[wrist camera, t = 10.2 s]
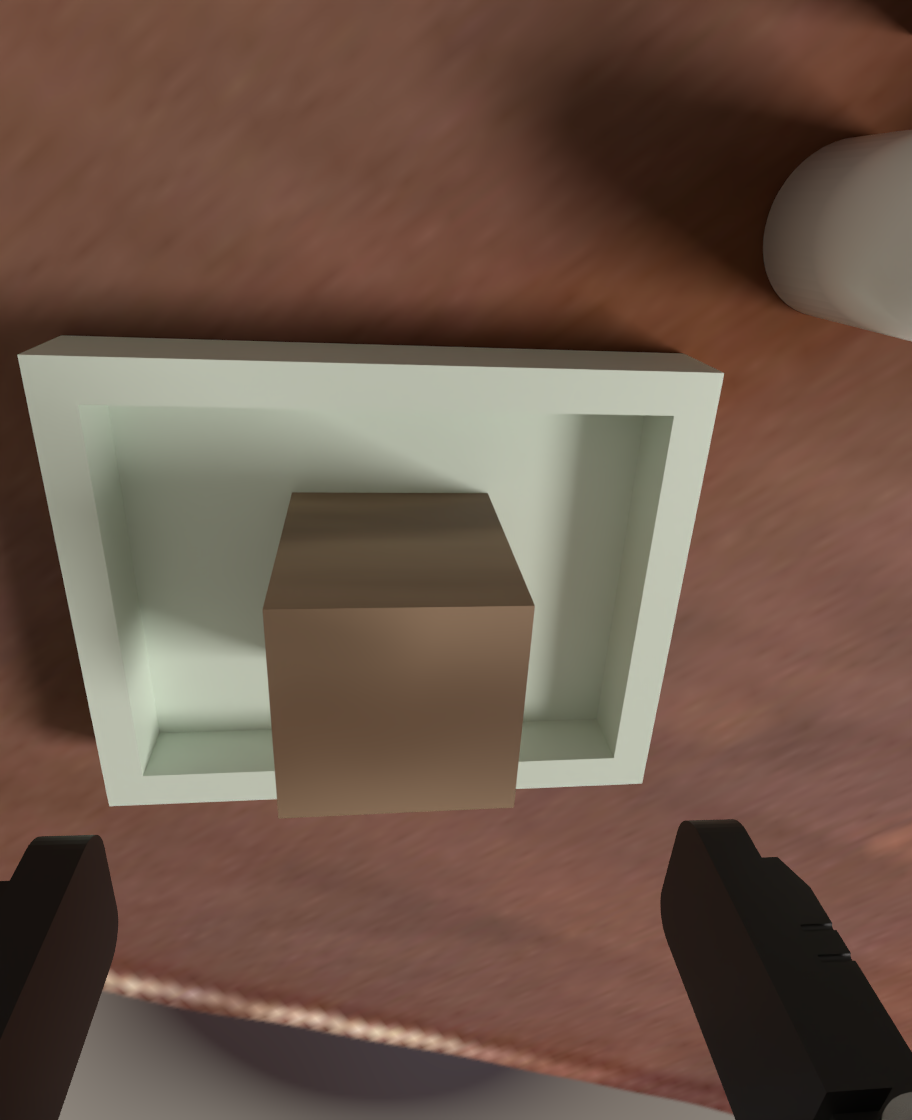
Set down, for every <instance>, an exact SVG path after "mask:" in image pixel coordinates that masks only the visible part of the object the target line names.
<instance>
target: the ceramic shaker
mask: <svg viewBox="0 0 912 1120" xmlns="http://www.w3.org/2000/svg"><path fill="white" fill-rule="evenodd" d="M763 258H764V265H765V270H766V273H767V276H768V279H769V281H770V283H771V285H772V287H773V289H774V291H775V292H776V293H777V295H778V296H779V297H780V298H781V299H782V300H783V301H784V302H785V303H786V304H787V305H788V306H790V307H791V308H793V309H794V310H796V311H799V312H801V313H803V314H807V315H811V316H814V317H818V318H822V319H826V320H830V321H834V322H838V323H842V324H846V325H850V326H854V327H857V328H861V329H865V330H869V331H873V332H877V333H881V334H885V335H889V336H893V337H897V338H901V339H904V340H908V341H912V130H904V131H896V132H889V133H881V134H874V135H866V136H859V137H852V138H846V139H842V140H839V141H836V142H833V143H831V144H829V145H827V146H825V147H822V148H821V149H819V150H818V151H816V152H815V153H813V154H812V155H810V156H809V157H808V158H807V159H805V160H804V161H803V162H802V163H801V164H800V165H799V166H798V167H797V168H796V169H795V170H794V171H793V172H792V173H791V175H790V176H789V177H788V178H787V180H786V181H785V182H784V184H783V186H782V187H781V189H780V190H779V192H778V194H777V196H776V198H775V200H774V202H773V204H772V206H771V209H770V212H769V214H768V218H767V221H766V225H765V230H764V237H763Z"/></svg>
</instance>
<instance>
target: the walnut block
mask: <svg viewBox="0 0 912 1120" xmlns="http://www.w3.org/2000/svg"><path fill="white" fill-rule="evenodd" d="M262 610H263V623H264V637H265V650H266V663H267V676H268V689H269V702H270V715H271V728H272V741H273V754H274V767H275V780H276V793H277V806H278V818H297V817H319V816H340V815H362V814H383V813H405V812H426V811H448V810H469V809H491V808H512V807H514V801H515V792H516V782H517V772H518V763H519V753H520V744H521V734H522V725H523V715H524V705H525V696H526V686H527V677H528V667H529V658H530V648H531V639H532V629H533V619H534V610H535V605H534V602H533V600H532V598H531V595H530V593H529V590H528V588H527V586H526V583H525V581H524V579H523V576H522V574H521V571H520V569H519V567H518V564H517V562H516V559H515V557H514V555H513V552H512V550H511V547H510V545H509V543H508V540H507V538H506V536H505V533H504V531H503V528H502V526H501V524H500V521H499V519H498V516H497V514H496V512H495V509H494V507H493V504H492V502H491V500H490V497H489V495H488V493H327V492H292V494H291V498H290V502H289V506H288V510H287V514H286V518H285V522H284V526H283V530H282V534H281V538H280V542H279V546H278V550H277V554H276V558H275V562H274V566H273V570H272V574H271V578H270V582H269V586H268V590H267V593H266V597H265V601H264V605H263V609H262Z"/></svg>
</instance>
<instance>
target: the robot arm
mask: <svg viewBox="0 0 912 1120" xmlns="http://www.w3.org/2000/svg"><path fill="white" fill-rule="evenodd" d="M661 918H662V924H663V929H664V933H665V936H666V939H667V942H668V945H669V947H670V950H671V952H672V955H673V958H674V960H675V963H676V966H677V968H678V971H679V973H680V976H681V979H682V981H683V984H684V986H685V989H686V992H687V994H688V997H689V999H690V1002H691V1005H692V1007H693V1010H694V1013H695V1015H696V1018H697V1020H698V1023H699V1026H700V1028H701V1031H702V1033H703V1036H704V1039H705V1041H706V1044H707V1046H708V1049H709V1052H710V1054H711V1057H712V1059H713V1062H714V1065H715V1067H716V1070H717V1073H718V1075H719V1078H720V1080H721V1083H722V1086H723V1088H724V1091H725V1093H726V1096H727V1099H728V1101H729V1104H730V1106H731V1109H732V1112H733V1114H734V1117H735V1120H912V1052H911V1050H910V1049H909V1047H908V1045H907V1044H906V1042H905V1041H904V1039H903V1037H902V1036H901V1034H900V1032H899V1031H898V1029H897V1028H896V1026H895V1024H894V1023H893V1021H892V1019H891V1018H890V1016H889V1015H888V1013H887V1011H886V1010H885V1008H884V1006H883V1005H882V1003H881V1002H880V1000H879V998H878V997H877V995H876V993H875V992H874V990H873V989H872V987H871V985H870V984H869V982H868V980H867V979H866V977H865V976H864V974H863V972H862V971H861V969H860V968H859V966H858V964H857V963H856V961H852V959H851V956H850V951H849V950H848V948H847V946H846V945H845V943H844V942H843V940H842V938H841V937H840V935H839V933H838V932H837V930H833V928H832V922H831V920H830V919H829V917H828V916H827V914H826V912H825V911H824V909H823V907H822V906H821V904H820V903H819V901H818V899H817V898H816V896H815V894H814V893H813V891H812V890H811V888H810V887H809V886H808V885H807V884H806V883H805V882H804V881H803V880H802V879H801V878H799V877H798V876H797V875H796V874H795V873H794V872H793V871H792V870H791V869H790V868H789V867H788V866H786V865H785V864H784V863H783V862H782V861H781V860H780V859H779V858H778V857H767V858H761V856H760V854H759V852H758V851H757V849H756V847H755V845H754V844H753V842H752V840H751V838H750V837H749V835H748V833H747V831H746V830H745V828H744V827H743V826H742V824H741V823H740V822H738V821H737V820H734V819H728V820H692V821H683V822H682V823H681V824H680V826H679V828H678V831H677V835H676V839H675V843H674V846H673V850H672V854H671V858H670V861H669V865H668V869H667V873H666V876H665V880H664V884H663V888H662V892H661ZM117 933H118V911H117V906H116V901H115V896H114V891H113V887H112V882H111V877H110V872H109V867H108V863H107V858H106V853H105V848H104V844H103V841H102V839H101V837H100V836H98V835H78V836H42V837H37V838H35V839H34V840H33V841H32V842H31V843H30V845H29V846H28V848H27V849H26V851H25V853H24V855H23V857H22V859H21V861H20V862H19V864H18V866H17V868H16V870H15V872H14V874H13V876H12V878H11V879H10V881H0V1120H58V1118H59V1115H60V1112H61V1109H62V1106H63V1103H64V1100H65V1098H66V1095H67V1092H68V1089H69V1086H70V1083H71V1080H72V1077H73V1074H74V1071H75V1068H76V1065H77V1063H78V1059H79V1057H80V1054H81V1051H82V1048H83V1045H84V1042H85V1039H86V1036H87V1033H88V1030H89V1027H90V1024H91V1021H92V1019H93V1016H94V1013H95V1010H96V1007H97V1004H98V1001H99V998H100V995H101V992H102V989H103V987H104V984H105V981H106V978H107V975H108V972H109V969H110V966H111V963H112V960H113V956H114V952H115V947H116V941H117Z"/></svg>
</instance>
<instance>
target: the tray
mask: <svg viewBox="0 0 912 1120" xmlns="http://www.w3.org/2000/svg"><path fill="white" fill-rule="evenodd" d="M17 356H18V361H19V366H20V371H21V376H22V380H23V385H24V390H25V395H26V400H27V405H28V410H29V415H30V420H31V425H32V429H33V434H34V439H35V444H36V449H37V454H38V459H39V464H40V469H41V474H42V479H43V483H44V488H45V493H46V498H47V503H48V508H49V513H50V518H51V523H52V528H53V532H54V537H55V542H56V547H57V552H58V557H59V562H60V567H61V572H62V577H63V581H64V586H65V591H66V596H67V601H68V606H69V611H70V616H71V621H72V626H73V630H74V635H75V640H76V645H77V650H78V655H79V660H80V665H81V670H82V675H83V680H84V684H85V689H86V694H87V699H88V704H89V709H90V714H91V719H92V724H93V729H94V733H95V738H96V743H97V748H98V753H99V758H100V763H101V768H102V773H103V778H104V782H105V787H106V792H107V797H108V802H109V806H126V805H149V804H172V803H196V802H219V801H243V800H266V799H277V793H276V780H275V767H274V754H273V741H272V728H271V715H270V702H269V689H268V676H267V663H266V650H265V637H264V623H263V610H262V609H263V605H264V601H265V597H266V593H267V590H268V586H269V582H270V578H271V574H272V570H273V566H274V562H275V558H276V554H277V550H278V546H279V542H280V538H281V534H282V530H283V526H284V522H285V518H286V514H287V510H288V506H289V502H290V498H291V494H292V492H327V493H488V495H489V497H490V500H491V502H492V504H493V507H494V509H495V512H496V514H497V516H498V519H499V521H500V524H501V526H502V528H503V531H504V533H505V536H506V538H507V540H508V543H509V545H510V547H511V550H512V552H513V555H514V557H515V559H516V562H517V564H518V567H519V569H520V571H521V574H522V576H523V579H524V581H525V583H526V586H527V588H528V590H529V593H530V595H531V598H532V600H533V602H534V605H535V610H534V619H533V629H532V639H531V648H530V658H529V667H528V677H527V686H526V696H525V705H524V715H523V725H522V734H521V744H520V753H519V763H518V772H517V782H516V789H524V788H548V787H571V786H595V785H618V784H642V781H643V776H644V771H645V766H646V761H647V756H648V751H649V746H650V741H651V736H652V731H653V726H654V721H655V716H656V711H657V706H658V701H659V696H660V691H661V686H662V681H663V676H664V671H665V666H666V661H667V656H668V651H669V646H670V641H671V636H672V631H673V626H674V621H675V616H676V611H677V606H678V601H679V596H680V591H681V586H682V581H683V576H684V571H685V566H686V561H687V556H688V551H689V547H690V542H691V537H692V532H693V527H694V522H695V517H696V512H697V507H698V502H699V497H700V492H701V487H702V482H703V477H704V472H705V467H706V462H707V457H708V452H709V447H710V442H711V437H712V432H713V427H714V422H715V417H716V412H717V407H718V402H719V397H720V392H721V387H722V382H723V377H724V373H723V372H721V371H719V370H717V369H715V368H713V367H711V366H709V365H706V364H704V363H702V362H700V361H698V360H696V359H694V358H692V357H690V356H688V355H686V354H684V353H650V352H616V351H581V350H547V349H513V348H478V347H444V346H410V345H375V344H341V343H306V342H272V341H238V340H203V339H169V338H134V337H100V336H66V335H61V336H58V337H56V338H54V339H52V340H49V341H47V342H45V343H43V344H40V345H38V346H36V347H33V348H31V349H29V350H27V351H24V352H22V353H20V354H18V355H17Z"/></svg>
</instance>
